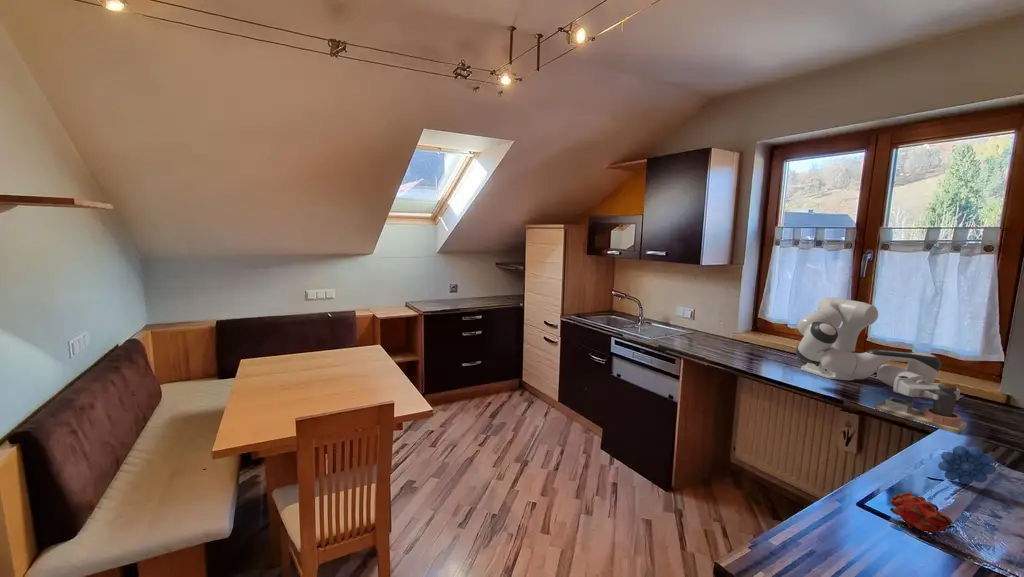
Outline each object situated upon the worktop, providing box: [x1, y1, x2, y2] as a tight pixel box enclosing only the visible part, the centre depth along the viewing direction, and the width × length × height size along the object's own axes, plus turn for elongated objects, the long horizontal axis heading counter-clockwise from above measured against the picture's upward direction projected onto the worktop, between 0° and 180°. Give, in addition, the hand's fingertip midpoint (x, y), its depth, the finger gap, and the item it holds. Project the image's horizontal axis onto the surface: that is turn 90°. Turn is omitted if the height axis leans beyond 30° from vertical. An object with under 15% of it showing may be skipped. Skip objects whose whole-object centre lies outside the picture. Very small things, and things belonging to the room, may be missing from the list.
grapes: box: [937, 445, 997, 486], centre depth 129 cm, size 12×7×12 cm, turn 54°
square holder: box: [885, 396, 914, 413], centre depth 181 cm, size 7×7×3 cm
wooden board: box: [874, 399, 968, 435], centre depth 176 cm, size 25×12×2 cm, turn 35°
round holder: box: [923, 407, 962, 426], centre depth 170 cm, size 10×10×3 cm
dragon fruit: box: [889, 491, 955, 533], centre depth 109 cm, size 8×8×12 cm
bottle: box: [931, 379, 958, 418], centre depth 169 cm, size 6×6×15 cm
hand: (947, 398), depth 168 cm, fingers closed on bottle, 5 cm apart
